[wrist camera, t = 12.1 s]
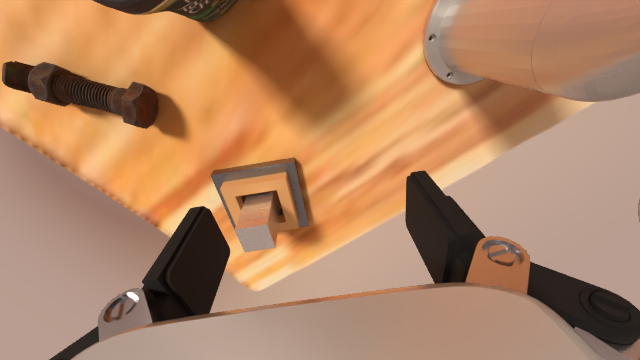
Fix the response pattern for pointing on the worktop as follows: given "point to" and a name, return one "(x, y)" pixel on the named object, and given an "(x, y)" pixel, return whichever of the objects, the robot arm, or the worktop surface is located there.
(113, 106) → the bolt
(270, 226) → the block
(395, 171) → the worktop surface
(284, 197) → the square socket base
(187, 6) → the coffee jar
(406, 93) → the worktop surface
